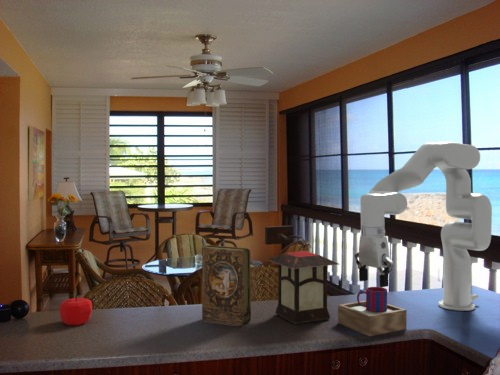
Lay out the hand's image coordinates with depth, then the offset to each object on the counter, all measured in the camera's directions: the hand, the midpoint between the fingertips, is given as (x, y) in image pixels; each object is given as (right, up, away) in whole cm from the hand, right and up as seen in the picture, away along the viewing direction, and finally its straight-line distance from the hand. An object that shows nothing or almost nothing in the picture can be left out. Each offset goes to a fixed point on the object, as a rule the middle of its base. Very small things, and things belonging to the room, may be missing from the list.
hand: (373, 283), depth 168 cm
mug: (-1, -9, +1) cm, 9 cm away
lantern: (-24, -14, +14) cm, 31 cm away
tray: (-1, -14, 0) cm, 14 cm away
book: (-49, -14, +5) cm, 51 cm away
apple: (-98, -14, +4) cm, 99 cm away
